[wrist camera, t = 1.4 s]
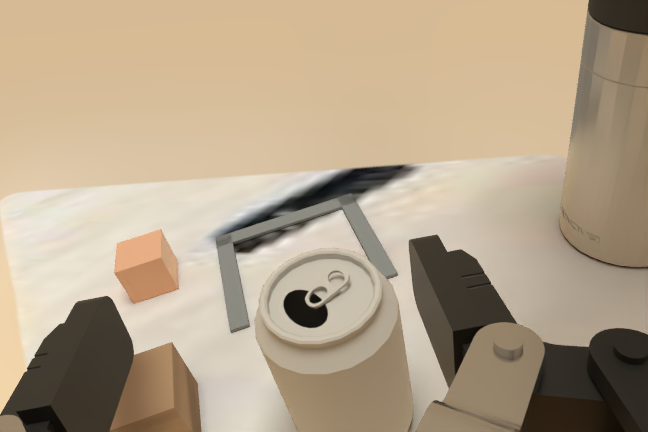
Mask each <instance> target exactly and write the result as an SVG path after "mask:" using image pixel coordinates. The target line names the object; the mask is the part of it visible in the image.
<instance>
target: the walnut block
mask: <svg viewBox="0 0 648 432" xmlns="http://www.w3.org/2000/svg"><path fill="white" fill-rule="evenodd" d="M109 432H201V422H200V409H199V397H198V384H197V382H196V380H195V379H194V377H193V375H192V374H191V372H190V371H189V369H188V367H187V366H186V364H185V363H184V361H183V359H182V358H181V356H180V355H179V353H178V351H177V350H176V348H175V347H174V345H173V343H172V342H171V343H168V344H165V345H162V346H159V347H156V348H154V349H151V350H148V351H145V352H142V353H139V354H136V355H134V357H133V363H132V366H131V369H130V372H129V375H128V378H127V381H126V383H125V386H124V389H123V392H122V395H121V398H120V401H119V404H118V407H117V410H116V413H115V416H114V419H113V422H112V425H111V428H110V431H109Z"/></svg>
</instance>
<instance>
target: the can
mask: <svg viewBox="0 0 648 432" xmlns="http://www.w3.org/2000/svg"><path fill="white" fill-rule="evenodd" d="M255 333H256V339H257V341H258V344H259V346H260V348H261V350H262V353H263V355H264V357H265V359H266V361H267V364H268V366H269V368H270V370H271V373H272V375H273V377H274V379H275V381H276V384H277V386H278V388H279V390H280V393H281V395H282V397H283V399H284V401H285V404H286V406H287V408H288V410H289V413H290V415H291V417H292V419H293V421H294V424H295V426H296V428H297V430H298V432H408V429H409V426H410V423H411V421H412V418H413V398H412V391H411V384H410V378H409V371H408V364H407V358H406V351H405V344H404V337H403V331H402V324H401V317H400V310H399V304H398V299H397V296H396V294H395V291H394V289H393V286H392V284H391V283H390V282H389V281H388V280H387V279H386V278H385V276H384V275H383V274H382V273H381V272H380V271H378V270H377V268H376V267H375V266H374V265H373V264H372V263H371V262H370V261H369V260H368V259H367V258H365V257H363V256H361V255H359V254H357V253H356V252H354V251H349V250H344V249H339V248H328V249H317V250H313V251H309V252H305V253H302V254H300V255H298V256H296V257H294V258H292V259H290V260H288V261H286V262H285V263H284V264H282V265H281V266H280V267H279V268H277V269H276V270H275V271H274V272H273V273H272V274H271V276H270V277H269V278H268V280H267V281H266V283H265V284H264V285H263V288H262V291H261V295H260V298H259V307H258V310H257V314H256V317H255Z"/></svg>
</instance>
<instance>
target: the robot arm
mask: <svg viewBox="0 0 648 432" xmlns="http://www.w3.org/2000/svg"><path fill="white" fill-rule="evenodd" d="M571 130H572V131H571V137H570V144H569V152H568V159H567V166H566V173H565V180H564V188H563V195H562V203H561V210H560V217H559V223H560V229H561V231H562V233H563V235H564V236H565V237H566V239H567V240H568V241H569V242H570V243H571V244H572V245H573V246H574V247H576V248H577V249H578V250H580V251H581V252H583V253H585V254H587V255H589V256H591V257H593V258H595V259H598V260H601V261H604V262H607V263H611V264H615V265H620V266H630V267H648V0H589V4H588V11H587V18H586V26H585V33H584V40H583V48H582V56H581V64H580V71H579V78H578V86H577V93H576V100H575V107H574V116H573V123H572V129H571ZM409 253H410V263H411V273H412V283H413V291H414V296H415V301H416V304H417V308H418V311H419V313H420V316H421V318H422V321H423V323H424V326H425V328H426V331H427V334H428V336H429V339H430V341H431V344H432V346H433V349H434V352H435V354H436V357H437V359H438V362H439V364H440V367H441V369H442V372H443V375H444V377H445V380H446V382H447V385H448V387H449V390H448V393H447V395H446V397H445V399H444V400H443V401H442V402H439V401H436V400H435V401H433V402H432V403H431V404H430V405H429V407H428V409H427V410H426V412H425V414H424V416H423V418H422V420H421V422H420V424H419V426H418V428H417V430H416V432H648V335H647V334H645V333H642V332H639V331H635V330H631V329H624V328H614V329H607V330H604V331H601V332H599V333H597V334H596V335H595V336H594V337H593V338H592V340H591V341H590V345H589V347H578V346H562V345H554V344H549V343H546V342H542V340H541V338H540V337H539V336H538V335H537V334H536V333H534V332H533V331H532V330H530V329H528V328H526V327H524V326H522V325H519V324H517V323H516V321H515V320H514V318H513V317H512V315H511V313H510V312H509V310H508V309H507V307H506V305H505V304H504V302H503V301H502V299H501V298H500V296H499V294H498V293H497V291H496V290H495V288H494V287H493V285H491V282H490V280H489V279H488V277H487V276H486V274H484V271H483V269H482V268H481V266H480V264H479V263H478V261H477V260H476V259H475V258H474V257H472V256H471V255H469V254H467V253H466V252H464V251H463V250H461V249H460V250H455V251H450V252H447V250H446V249H445V247H444V245H443V243H442V242H441V240H440V238H439V236H438V235H432V236H427V237H422V238H416V239H411V240H409ZM133 357H134V350H133V344H132V340H131V338H130V335H129V333H128V331H127V329H126V327H125V325H124V323H123V321H122V319H121V317H120V315H119V312H118V310H117V308H116V306H115V304H114V302H113V300H112V299H111V298H110V297H108V296H104V297H99V298H94V299H88V300H83V301H78V302H77V303H76V304H75V305H74V307H73V309H72V310H71V312H70V314H69V316H68V318H67V319H66V321H65V323H63V324H59V325H58V326H57V327H56V328H55V329H54V330H53V331H52V332H51V333H50V334H49V335H48V336H47V337H46V338H45V339H44V340H43V342H42V343H41V345H40V347H39V349H38V350H37V352H36V354H35V358H33V359H32V361H31V362H30V364H29V366H28V368H27V372H25V373H24V375H23V376H22V378H21V380H20V381H19V383H18V385H17V387H16V388H15V390H14V392H13V394H12V395H11V397H10V399H9V401H8V402H7V404H6V406H5V407H4V409H3V411H2V413H1V414H0V432H109V431H110V428H111V425H112V422H113V419H114V416H115V413H116V410H117V407H118V404H119V401H120V398H121V395H122V392H123V389H124V386H125V383H126V381H127V378H128V375H129V372H130V369H131V366H132V363H133Z"/></svg>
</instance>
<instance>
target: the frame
mask: <svg viewBox="0 0 648 432" xmlns="http://www.w3.org/2000/svg"><path fill="white" fill-rule="evenodd" d="M340 209H343V211H344V213H345V215H346V217H347V219H348V221H349V222H350V224H351V226H352V228H353V230H354V232H355V234H356V236H357V238H358V240H359V241H360V243H361V245H362V247H363V249H364V251H365V253H366V255H367V257H368V259H369V260H370V262H371V263H372V264H373V265H374V266H375V267H376V268H377V270H378V271H380V272H381V273H382V274H383V275H384V276H385V278H386V279H388V278H391V277H394V276H397V275H398V274H397V271H396V269H395V268H394V266H393V264H392V262H391V261H390V259H389V257H388V256H387V254H386V252H385V250H384V249H383V247H382V245H381V243H380V242H379V240H378V238H377V236H376V235H375V233H374V231H373V230H372V228H371V226H370V224H369V223H368V221H367V219H366V217H365V216H364V214H363V212H362V211H361V209H360V207H359V205H358V204H357V202H356V200H355V198H354V197H353V195H352V193H351V194H348V195H345V196H342V197H339V198H336V199H333V200H330V201H327V202H324V203H320V204H317V205H314V206H311V207H308V208H305V209H302V210H299V211H296V212H293V213H290V214H287V215H284V216H281V217H278V218H275V219H272V220H268V221H265V222H262V223H259V224H256V225H253V226H250V227H247V228H244V229H241V230H238V231H235V232H232V233H229V234H226V235H223V236H219V237H216V244H217V250H218V257H219V263H220V269H221V276H222V282H223V288H224V295H225V301H226V307H227V314H228V320H229V326H230V331H231V333H232V332H235V331H238V330H241V329H244V328H247V327H250V325H249V320H248V315H247V311H246V306H245V301H244V296H243V291H242V286H241V281H240V276H239V271H238V266H237V261H236V256H235V251H234V246H233V245H234V244H237V243H240V242H243V241H246V240H249V239H252V238H255V237H258V236H261V235H264V234H267V233H270V232H273V231H276V230H279V229H282V228H285V227H288V226H291V225H294V224H297V223H301V222H304V221H307V220H310V219H313V218H316V217H319V216H322V215H325V214H328V213H331V212H334V211H337V210H340Z"/></svg>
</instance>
